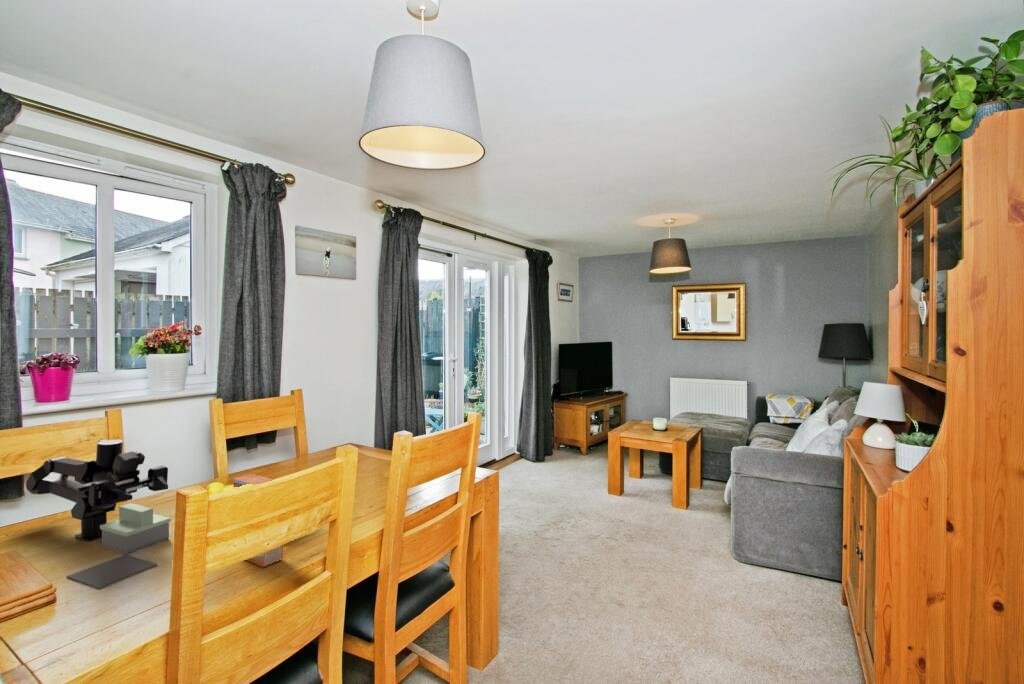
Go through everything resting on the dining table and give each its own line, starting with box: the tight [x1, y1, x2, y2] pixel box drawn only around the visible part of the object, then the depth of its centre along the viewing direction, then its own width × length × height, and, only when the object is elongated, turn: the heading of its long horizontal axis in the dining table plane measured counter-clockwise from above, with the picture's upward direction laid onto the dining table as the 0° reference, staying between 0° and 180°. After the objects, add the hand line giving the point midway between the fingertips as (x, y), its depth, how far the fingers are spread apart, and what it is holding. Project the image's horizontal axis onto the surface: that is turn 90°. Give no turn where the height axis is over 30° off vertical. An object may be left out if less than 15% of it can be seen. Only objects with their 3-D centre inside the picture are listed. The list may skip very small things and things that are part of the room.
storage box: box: [101, 522, 170, 555], centre depth 141 cm, size 11×11×5 cm
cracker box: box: [233, 473, 284, 568], centre depth 134 cm, size 14×6×21 cm, turn 58°
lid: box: [100, 502, 171, 537], centre depth 141 cm, size 12×12×6 cm
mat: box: [66, 554, 158, 590], centre depth 125 cm, size 13×13×1 cm
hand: (150, 492), depth 136 cm, fingers open, 9 cm apart
